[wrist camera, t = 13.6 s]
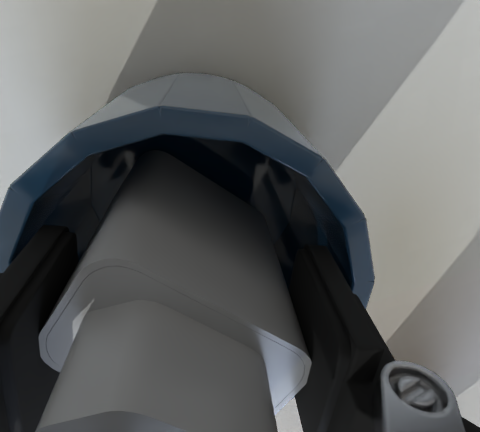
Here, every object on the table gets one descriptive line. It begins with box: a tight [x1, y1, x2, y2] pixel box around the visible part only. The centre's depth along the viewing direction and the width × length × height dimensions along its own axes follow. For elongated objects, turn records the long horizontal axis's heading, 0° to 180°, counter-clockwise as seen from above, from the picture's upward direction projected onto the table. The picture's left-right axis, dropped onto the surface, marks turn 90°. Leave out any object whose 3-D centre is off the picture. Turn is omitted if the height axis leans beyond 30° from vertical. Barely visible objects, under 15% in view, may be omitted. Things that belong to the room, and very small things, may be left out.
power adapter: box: [35, 150, 312, 432], centre depth 9 cm, size 3×5×12 cm, turn 54°
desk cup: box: [0, 73, 375, 399], centre depth 14 cm, size 10×10×8 cm
